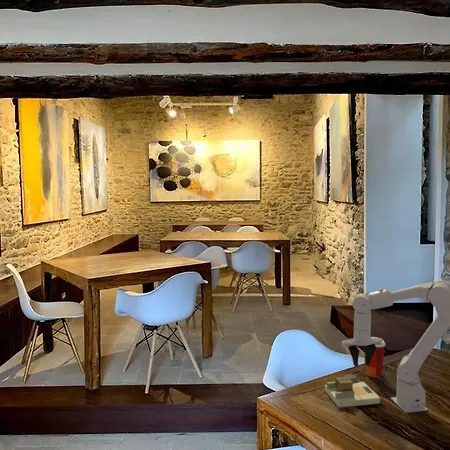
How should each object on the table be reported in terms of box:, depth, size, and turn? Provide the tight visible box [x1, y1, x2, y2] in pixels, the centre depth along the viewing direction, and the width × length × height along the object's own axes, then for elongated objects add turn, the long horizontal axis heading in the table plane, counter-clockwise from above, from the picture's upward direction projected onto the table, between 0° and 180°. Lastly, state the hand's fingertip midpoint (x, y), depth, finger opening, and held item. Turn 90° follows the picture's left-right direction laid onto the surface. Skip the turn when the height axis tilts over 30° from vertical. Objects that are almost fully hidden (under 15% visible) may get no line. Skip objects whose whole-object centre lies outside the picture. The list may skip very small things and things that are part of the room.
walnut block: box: [334, 376, 353, 392], centre depth 153 cm, size 4×4×4 cm
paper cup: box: [365, 336, 386, 379], centre depth 171 cm, size 8×8×14 cm
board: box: [324, 381, 381, 408], centre depth 154 cm, size 12×15×4 cm
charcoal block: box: [343, 373, 358, 383], centre depth 163 cm, size 4×4×4 cm
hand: (361, 365), depth 156 cm, fingers open, 4 cm apart
